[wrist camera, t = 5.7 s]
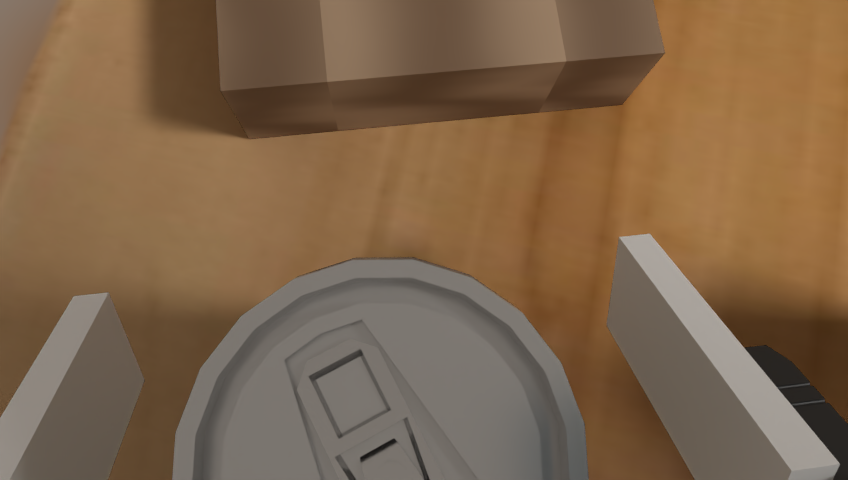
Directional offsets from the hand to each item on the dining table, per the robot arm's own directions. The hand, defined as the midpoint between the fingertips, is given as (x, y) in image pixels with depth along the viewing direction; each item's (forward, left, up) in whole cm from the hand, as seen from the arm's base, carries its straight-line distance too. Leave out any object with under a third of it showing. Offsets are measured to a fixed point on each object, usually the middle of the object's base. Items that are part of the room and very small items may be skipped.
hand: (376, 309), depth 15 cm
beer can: (+1, +2, -5) cm, 6 cm away
